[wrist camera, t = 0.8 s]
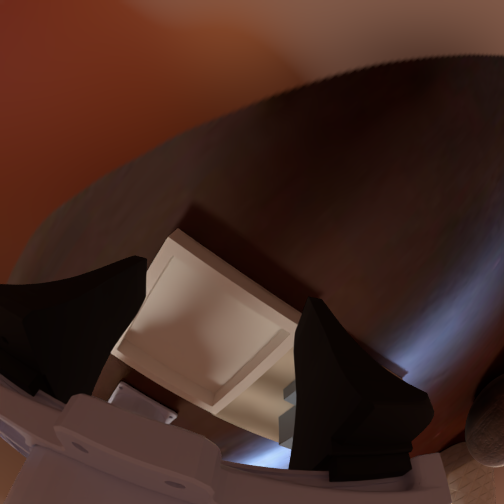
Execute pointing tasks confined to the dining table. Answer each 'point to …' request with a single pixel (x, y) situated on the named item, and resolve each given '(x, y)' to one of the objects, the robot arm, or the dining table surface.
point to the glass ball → (487, 425)
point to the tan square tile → (264, 400)
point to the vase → (467, 477)
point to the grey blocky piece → (288, 417)
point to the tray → (205, 326)
